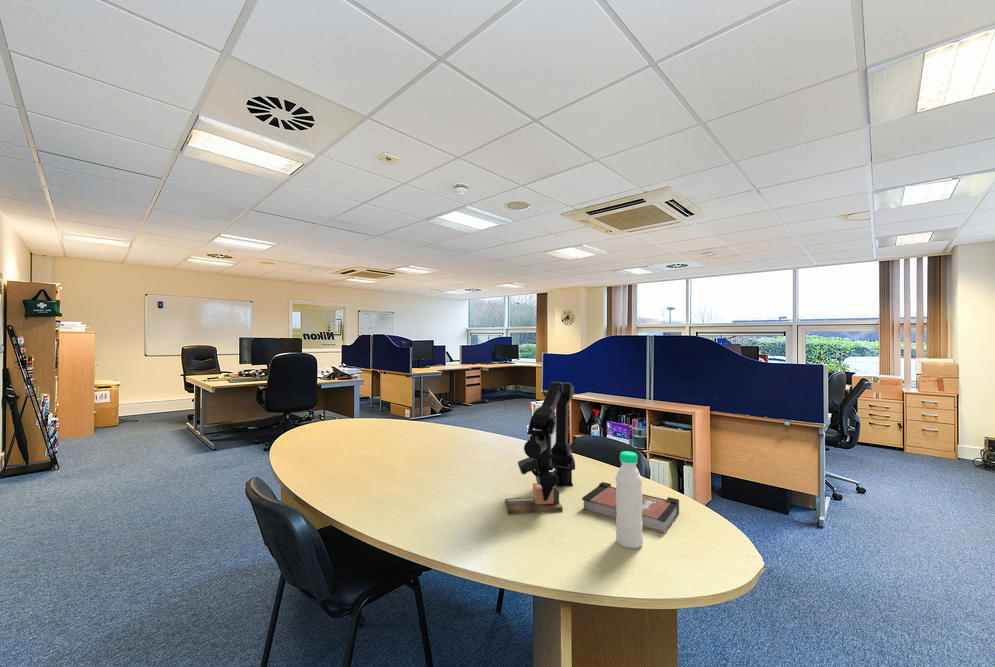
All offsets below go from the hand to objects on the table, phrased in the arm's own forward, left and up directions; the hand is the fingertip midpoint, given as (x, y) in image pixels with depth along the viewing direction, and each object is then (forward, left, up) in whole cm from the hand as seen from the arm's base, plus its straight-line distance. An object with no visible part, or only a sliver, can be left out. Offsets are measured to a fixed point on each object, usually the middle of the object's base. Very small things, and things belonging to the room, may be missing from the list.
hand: (543, 496), depth 133 cm
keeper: (0, 0, -2) cm, 2 cm away
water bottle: (-19, +26, -4) cm, 32 cm away
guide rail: (+4, 0, -2) cm, 4 cm away
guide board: (+3, 0, -4) cm, 5 cm away
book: (-27, +7, -4) cm, 29 cm away
